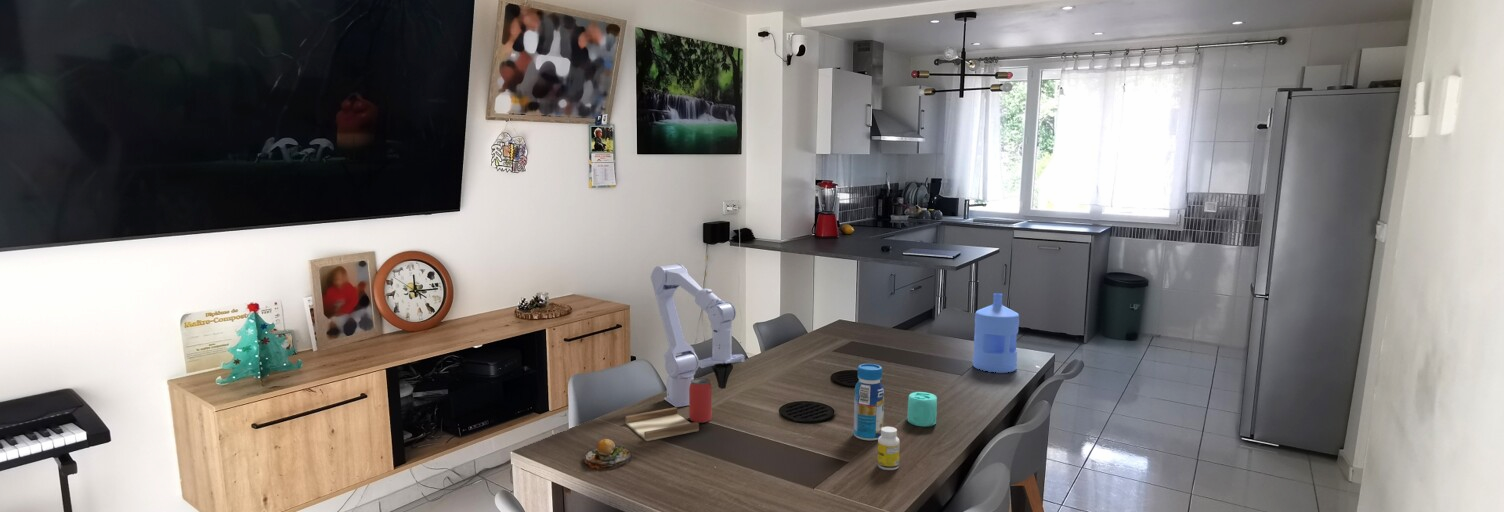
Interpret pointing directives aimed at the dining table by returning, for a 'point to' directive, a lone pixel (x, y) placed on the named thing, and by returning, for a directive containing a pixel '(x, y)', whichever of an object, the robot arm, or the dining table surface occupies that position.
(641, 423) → the birch tray
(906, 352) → the dining table surface
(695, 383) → the beer can
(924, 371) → the dining table surface
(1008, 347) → the water jug
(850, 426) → the dining table surface
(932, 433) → the dining table surface
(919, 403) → the turquoise short cylinder
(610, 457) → the food on plate
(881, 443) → the supplement bottle
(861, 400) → the beverage bottle
